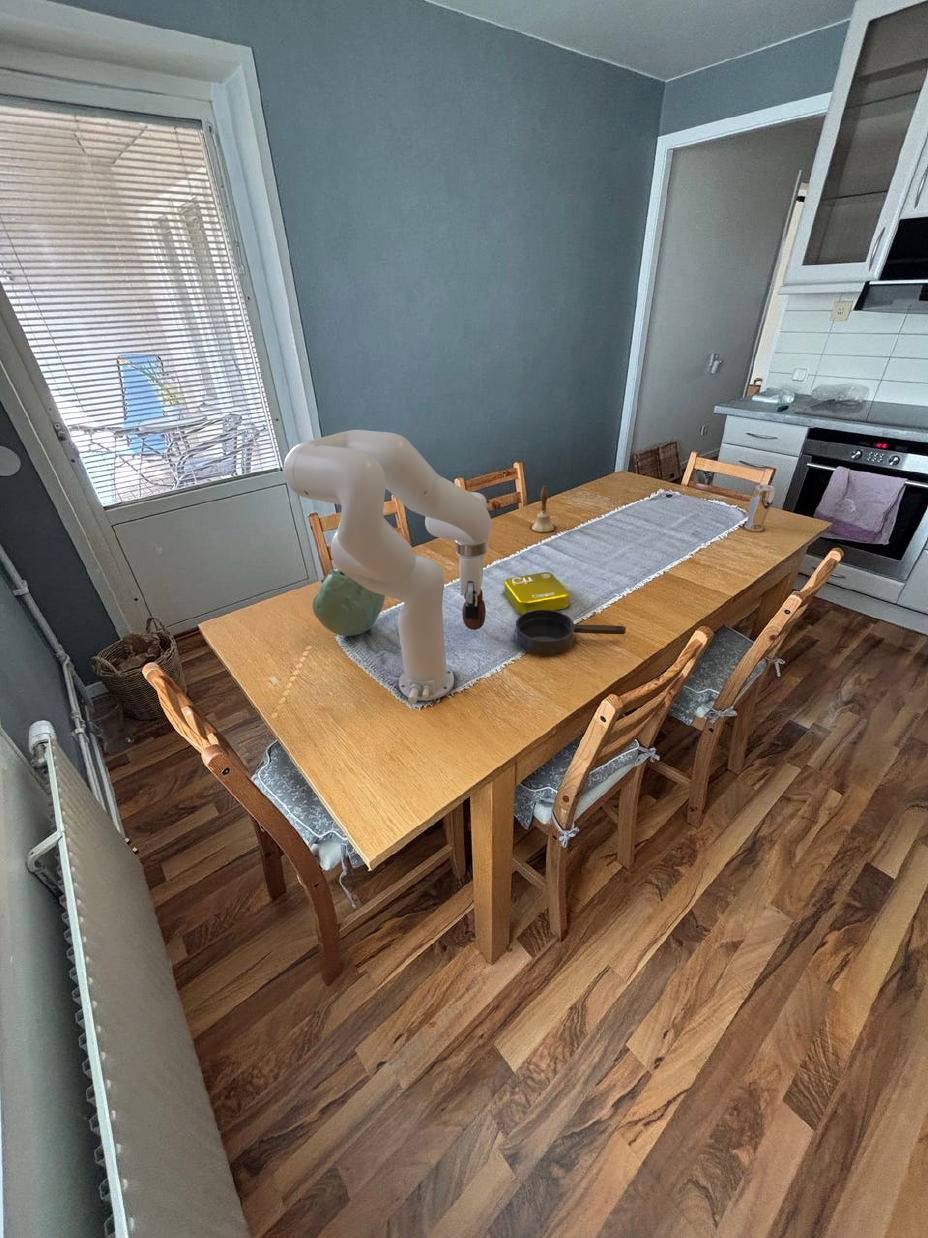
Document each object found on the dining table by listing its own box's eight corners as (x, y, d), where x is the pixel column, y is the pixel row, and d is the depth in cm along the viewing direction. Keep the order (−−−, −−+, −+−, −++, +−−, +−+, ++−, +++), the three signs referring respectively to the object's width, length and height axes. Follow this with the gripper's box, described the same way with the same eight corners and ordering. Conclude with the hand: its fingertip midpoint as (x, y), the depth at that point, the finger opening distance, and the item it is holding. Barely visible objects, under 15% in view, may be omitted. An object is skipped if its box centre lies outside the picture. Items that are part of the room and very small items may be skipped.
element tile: (520, 617, 137) (520, 602, 135) (502, 591, 150) (502, 577, 147) (571, 607, 140) (572, 592, 138) (549, 583, 153) (550, 569, 150)
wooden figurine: (483, 634, 127) (482, 582, 119) (461, 632, 129) (458, 580, 120) (487, 619, 133) (486, 569, 125) (466, 617, 134) (463, 567, 126)
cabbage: (309, 634, 134) (292, 567, 124) (368, 607, 145) (357, 543, 134) (340, 658, 124) (324, 588, 114) (401, 628, 135) (392, 560, 124)
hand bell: (527, 526, 191) (528, 485, 182) (546, 522, 193) (548, 481, 185) (539, 534, 184) (541, 491, 176) (558, 529, 187) (561, 487, 178)
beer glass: (744, 531, 179) (755, 490, 171) (741, 524, 185) (752, 483, 177) (766, 532, 177) (778, 491, 169) (762, 525, 183) (774, 484, 175)
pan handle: (625, 635, 123) (626, 630, 123) (572, 633, 125) (573, 628, 124) (624, 630, 125) (625, 625, 124) (572, 628, 127) (572, 623, 126)
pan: (575, 657, 121) (576, 642, 119) (514, 655, 123) (514, 640, 120) (571, 624, 133) (572, 610, 131) (516, 623, 135) (516, 608, 133)
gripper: (460, 531, 126) (463, 592, 136) (450, 562, 112) (455, 629, 121) (490, 531, 125) (491, 593, 135) (484, 563, 111) (486, 629, 121)
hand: (474, 609), depth 128 cm, fingers closed on wooden figurine, 6 cm apart
